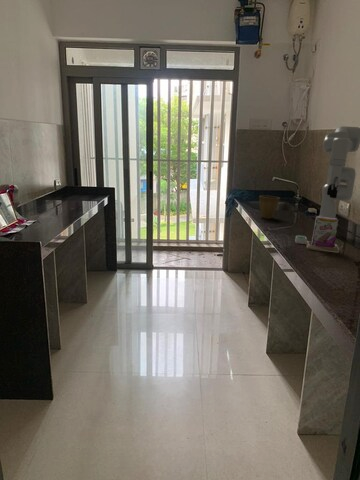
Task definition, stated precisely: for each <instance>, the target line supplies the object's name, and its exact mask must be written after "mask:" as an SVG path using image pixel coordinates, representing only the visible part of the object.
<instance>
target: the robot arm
mask: <svg viewBox="0 0 360 480" xmlns="http://www.w3.org/2000/svg"><path fill="white" fill-rule="evenodd" d="M322 142H323V143H322V150H323V152H325V153H328V155H329V162H328V163H329V164H328V168H327V169H328V170H327V176H326V178H327V180H326V183H325V184H323V186H322V189H321V195H322V196H321V204H320V205H321V206H320V211H319V215H318V216H320V217H328V218H336V215H337V209H338V206H337V203H336V202H335V200H337V201H350V200H351V199H352V197H353V192H354V186H355V180H356V169H355V168H353V167H349V166H346V161H347V156H348V153H354V152H357V151H358V149H360V148H359V147H360V127H359V126H345V125H343V126H339V127H337V128H336V129H335V131H334V132H331V133H328V134H326V135H325V137H324V139H323V141H322ZM341 183H343V184H341Z"/></svg>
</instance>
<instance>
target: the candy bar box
mask: <svg viewBox="0 0 360 480" xmlns="http://www.w3.org/2000/svg"><path fill="white" fill-rule="evenodd" d="M338 226H339V219H338V218H337V217H335V218H328V217H320V216H319V215H316V216H315V221H314V226H313V232H312V237H311V241H312V242H311V245H315V246H323V247H331V248H333V247H334V244H335V241H336V237H337V231H338Z"/></svg>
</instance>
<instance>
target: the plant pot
mask: <svg viewBox="0 0 360 480" xmlns="http://www.w3.org/2000/svg"><path fill="white" fill-rule="evenodd" d="M258 197H259V198H258V199H259V200H258V201H259V202H258V203H259V210H260V216H261V219H272V218H273V216H274V215H275V212H276V211H277V207H278V205H279V203H280V197H279V196H275V195H274V196H273V195H264V194H263V195H260V194H259V196H258Z"/></svg>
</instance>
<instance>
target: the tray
mask: <svg viewBox="0 0 360 480" xmlns="http://www.w3.org/2000/svg"><path fill="white" fill-rule="evenodd" d="M311 242H312V240H311V241H310V240H307V241H306V244H305V246H306V248H307V250H313V251H321V252H328V253H330V252H331V253H337V254H338V253H340V247H339V246H338V245H337V243H336V244H335V243H334V247H333V248H331V247H323V246H315V245H311Z"/></svg>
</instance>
